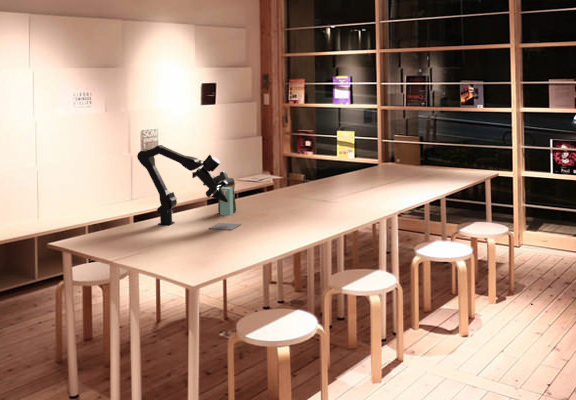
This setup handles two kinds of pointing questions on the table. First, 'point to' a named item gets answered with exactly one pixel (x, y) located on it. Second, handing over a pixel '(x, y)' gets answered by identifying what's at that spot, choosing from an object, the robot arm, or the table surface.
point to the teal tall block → (227, 207)
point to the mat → (225, 226)
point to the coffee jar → (232, 184)
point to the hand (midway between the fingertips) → (229, 200)
